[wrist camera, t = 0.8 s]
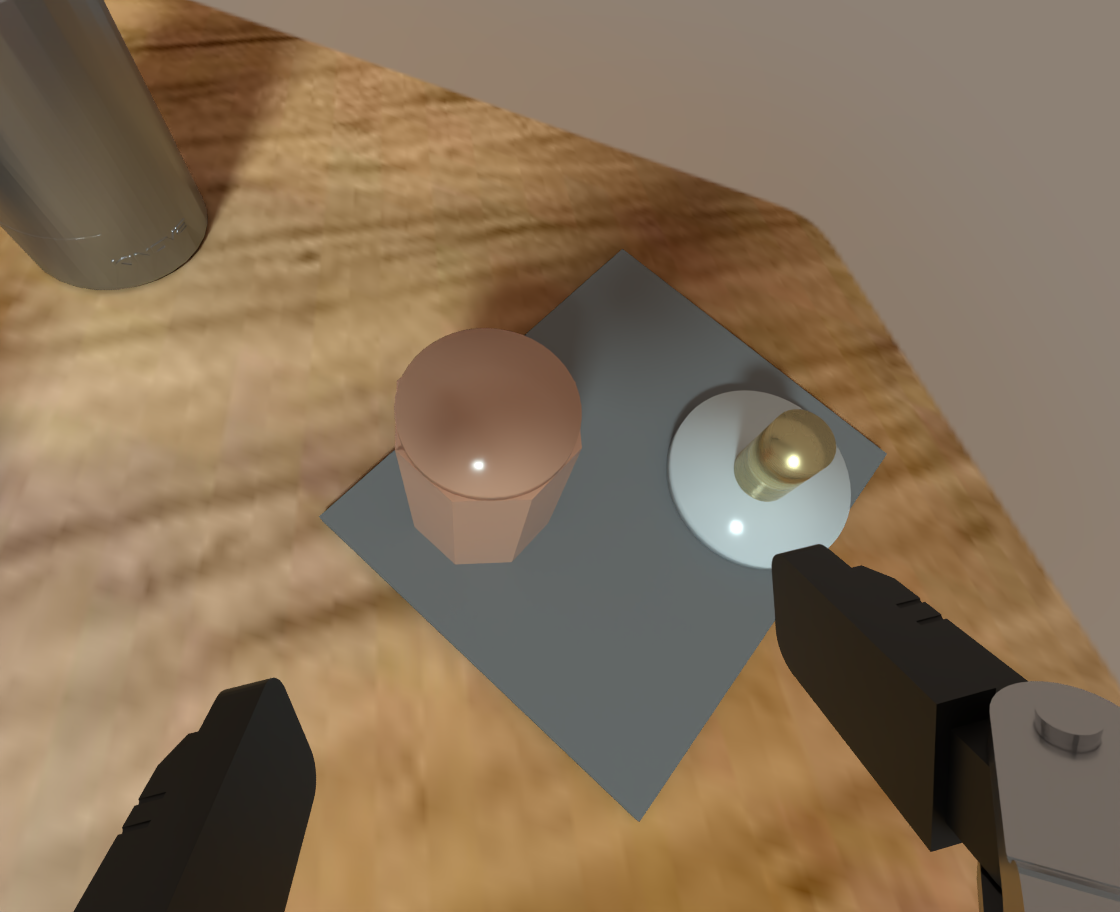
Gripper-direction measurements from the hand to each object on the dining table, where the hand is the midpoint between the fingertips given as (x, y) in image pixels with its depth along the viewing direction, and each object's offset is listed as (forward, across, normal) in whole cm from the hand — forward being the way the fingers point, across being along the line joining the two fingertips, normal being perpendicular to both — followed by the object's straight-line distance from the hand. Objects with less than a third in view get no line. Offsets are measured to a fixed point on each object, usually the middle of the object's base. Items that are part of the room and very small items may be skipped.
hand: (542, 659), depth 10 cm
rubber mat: (+22, -6, +7) cm, 24 cm away
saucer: (+21, -13, +8) cm, 26 cm away
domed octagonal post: (+21, +2, +6) cm, 22 cm away
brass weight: (+21, -13, +8) cm, 26 cm away
